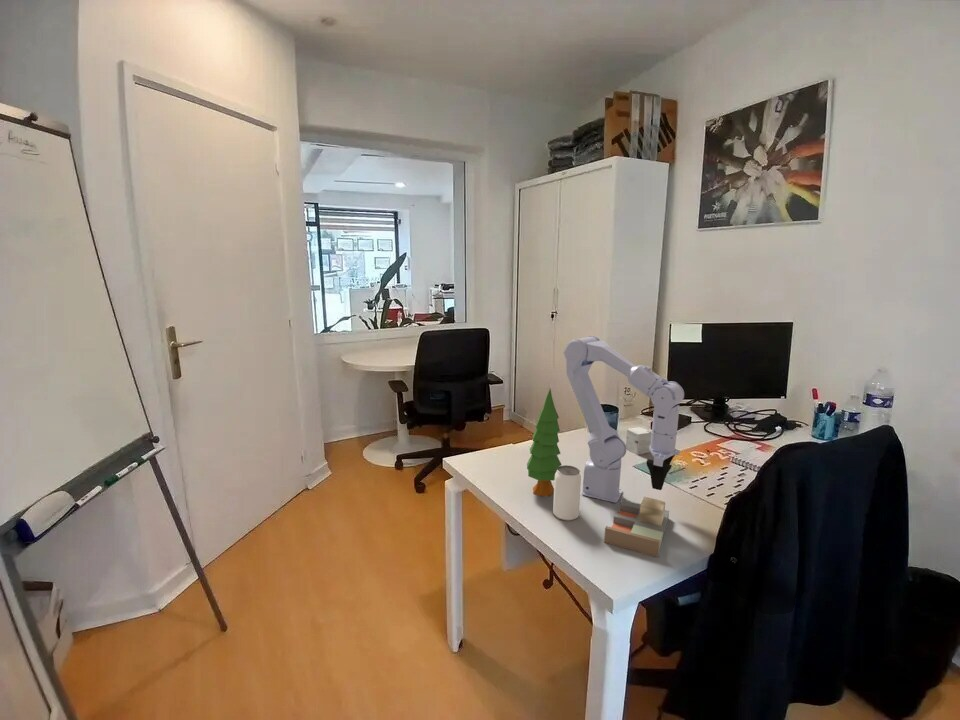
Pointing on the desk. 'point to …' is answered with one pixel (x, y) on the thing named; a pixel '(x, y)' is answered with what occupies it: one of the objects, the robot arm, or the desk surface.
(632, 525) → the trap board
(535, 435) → the decorative tree
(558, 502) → the can
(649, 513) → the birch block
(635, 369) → the robot arm
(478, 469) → the desk surface
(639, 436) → the skincare box
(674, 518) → the desk surface
